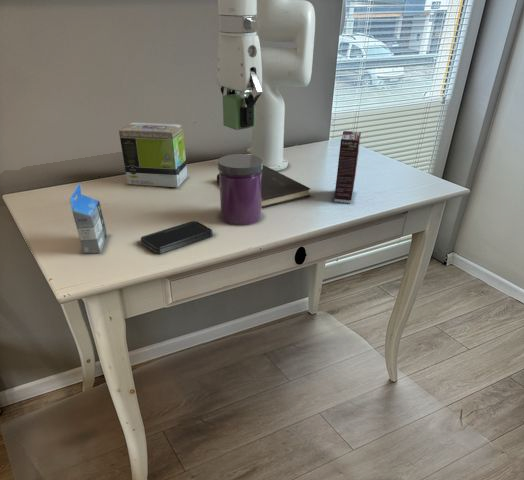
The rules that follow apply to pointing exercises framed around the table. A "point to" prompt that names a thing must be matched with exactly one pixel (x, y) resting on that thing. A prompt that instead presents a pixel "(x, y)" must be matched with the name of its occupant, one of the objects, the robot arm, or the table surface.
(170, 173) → the tea box
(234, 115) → the green block
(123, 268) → the table surface
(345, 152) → the supplement box
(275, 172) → the hardcover book
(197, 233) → the phone
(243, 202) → the jar
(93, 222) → the label tape box
